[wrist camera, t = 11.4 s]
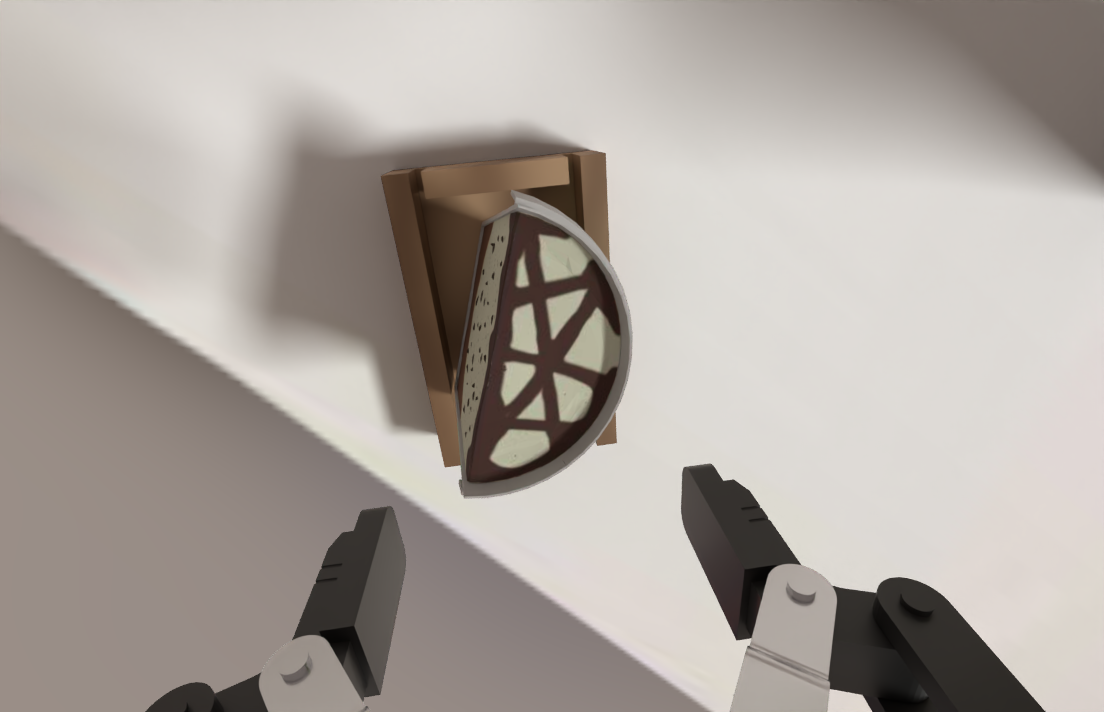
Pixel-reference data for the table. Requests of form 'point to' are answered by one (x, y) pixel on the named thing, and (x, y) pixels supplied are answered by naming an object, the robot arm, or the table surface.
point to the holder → (475, 249)
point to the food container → (537, 350)
